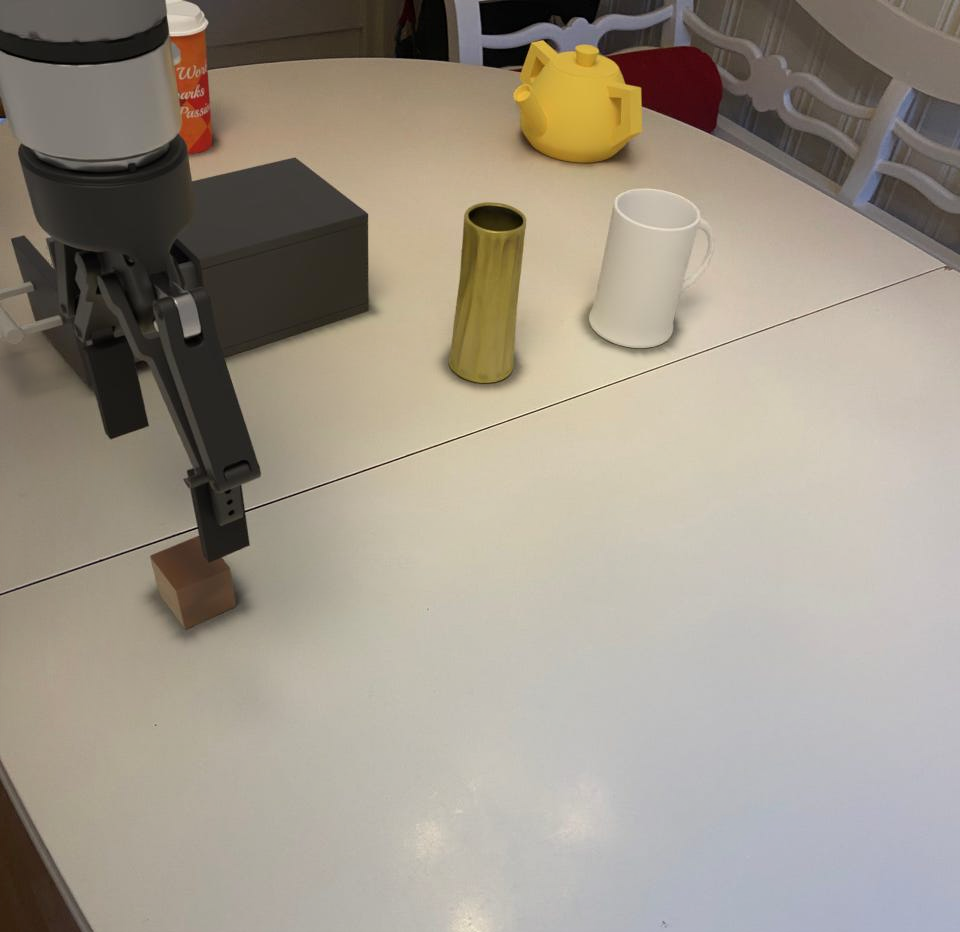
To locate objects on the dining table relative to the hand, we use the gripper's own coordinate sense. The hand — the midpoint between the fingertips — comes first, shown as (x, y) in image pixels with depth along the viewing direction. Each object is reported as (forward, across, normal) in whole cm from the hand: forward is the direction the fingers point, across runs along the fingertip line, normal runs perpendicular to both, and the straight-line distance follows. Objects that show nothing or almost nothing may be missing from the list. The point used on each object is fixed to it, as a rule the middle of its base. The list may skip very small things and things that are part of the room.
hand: (174, 487), depth 61 cm
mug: (+11, +10, -54) cm, 56 cm away
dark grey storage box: (+11, +32, -23) cm, 41 cm away
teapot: (+11, +45, -74) cm, 88 cm away
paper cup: (+11, +66, -33) cm, 75 cm away
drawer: (+10, +32, -9) cm, 35 cm away
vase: (+11, +12, -36) cm, 39 cm away
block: (+11, 0, 0) cm, 11 cm away
